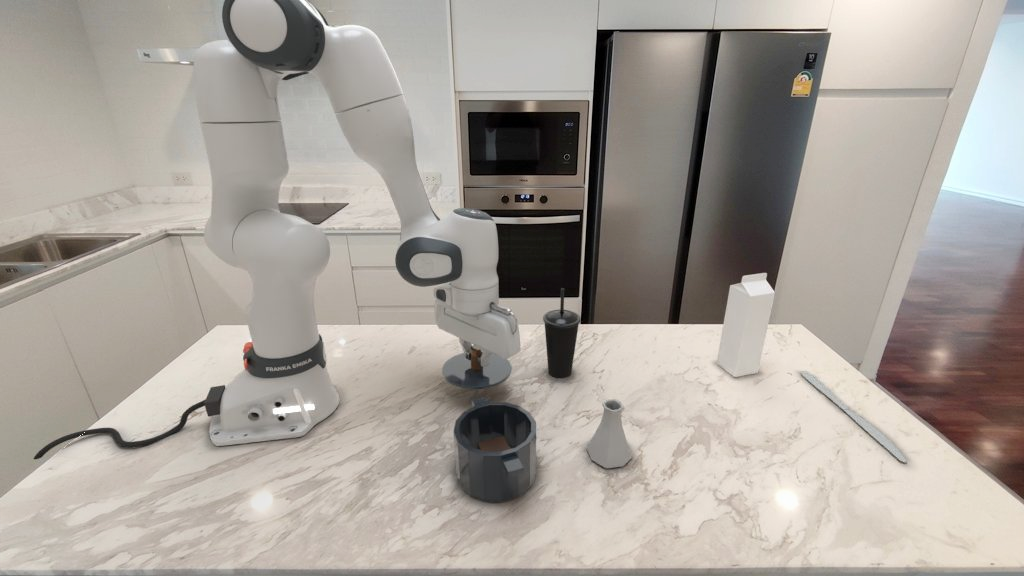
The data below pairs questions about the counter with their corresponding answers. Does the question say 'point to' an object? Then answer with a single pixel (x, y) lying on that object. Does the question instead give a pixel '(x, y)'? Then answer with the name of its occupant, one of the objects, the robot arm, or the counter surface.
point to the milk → (745, 325)
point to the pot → (495, 471)
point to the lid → (476, 370)
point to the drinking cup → (561, 339)
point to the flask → (610, 438)
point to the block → (494, 445)
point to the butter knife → (856, 418)
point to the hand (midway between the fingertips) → (476, 361)
